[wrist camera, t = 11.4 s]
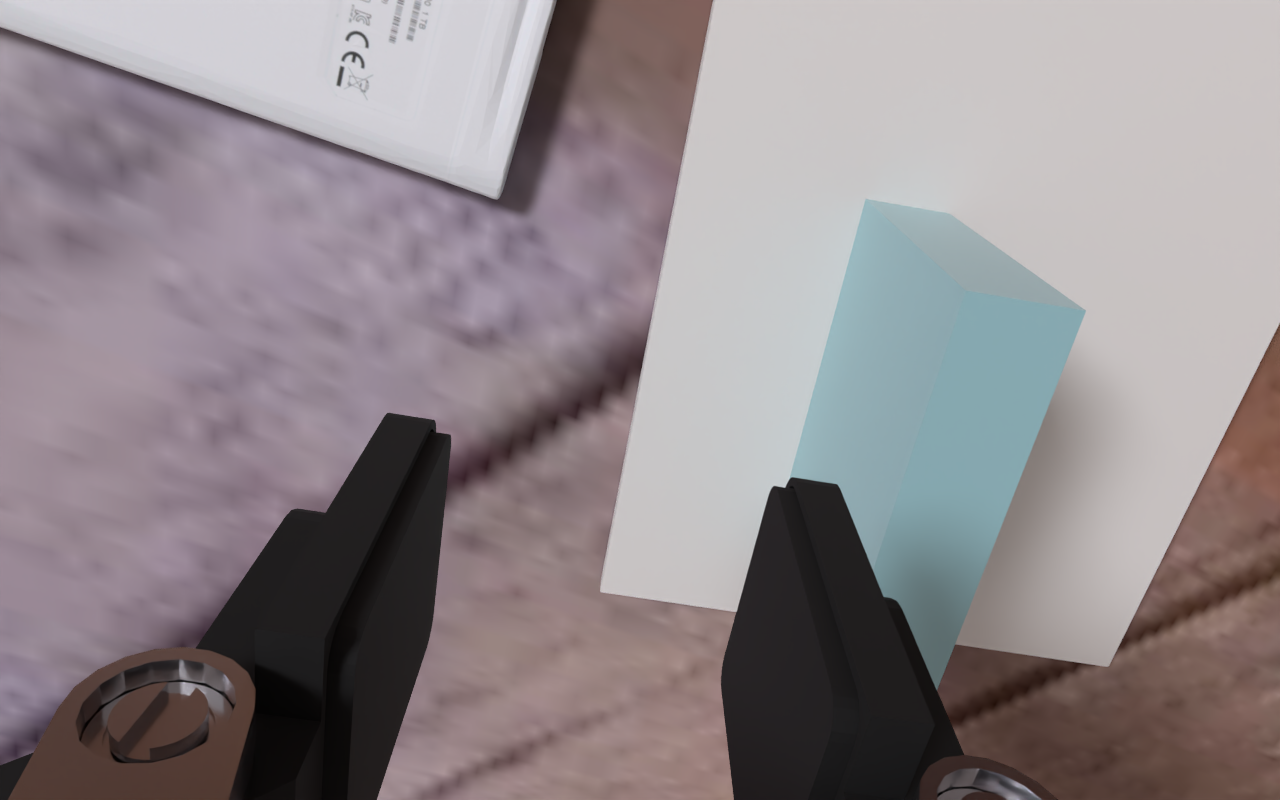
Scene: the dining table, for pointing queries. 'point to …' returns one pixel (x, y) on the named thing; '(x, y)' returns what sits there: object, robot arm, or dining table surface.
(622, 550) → the mat
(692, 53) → the dining table surface
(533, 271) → the dining table surface
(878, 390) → the tile
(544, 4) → the external hard drive
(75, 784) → the robot arm
